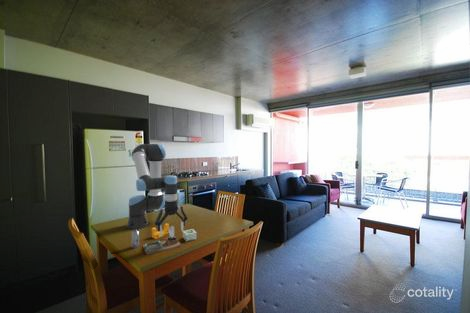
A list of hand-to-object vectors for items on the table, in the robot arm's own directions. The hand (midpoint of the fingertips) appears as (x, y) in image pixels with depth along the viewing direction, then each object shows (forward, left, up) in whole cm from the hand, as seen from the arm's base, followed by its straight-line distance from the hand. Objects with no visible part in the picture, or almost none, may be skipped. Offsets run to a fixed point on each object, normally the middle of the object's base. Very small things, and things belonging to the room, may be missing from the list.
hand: (171, 233), depth 132 cm
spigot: (-8, -20, -7) cm, 23 cm away
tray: (-2, +12, -7) cm, 14 cm away
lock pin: (0, 0, -6) cm, 6 cm away
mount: (0, -6, -7) cm, 9 cm away
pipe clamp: (-18, -2, -7) cm, 20 cm away
